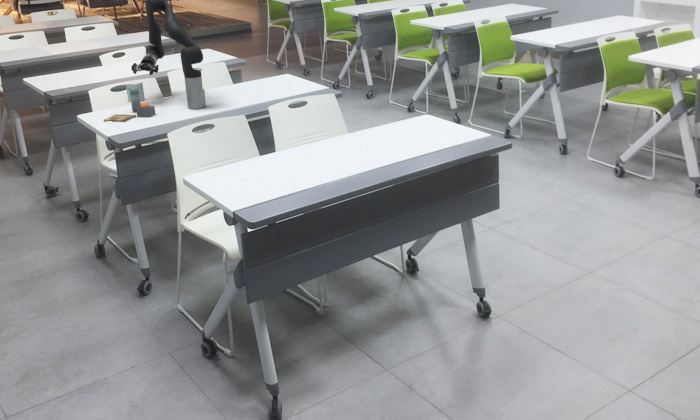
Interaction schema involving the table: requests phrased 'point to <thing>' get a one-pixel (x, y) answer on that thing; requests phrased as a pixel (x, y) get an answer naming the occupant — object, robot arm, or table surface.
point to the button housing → (145, 111)
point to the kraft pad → (119, 118)
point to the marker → (134, 98)
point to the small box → (135, 84)
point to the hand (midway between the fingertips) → (142, 72)
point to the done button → (144, 105)
